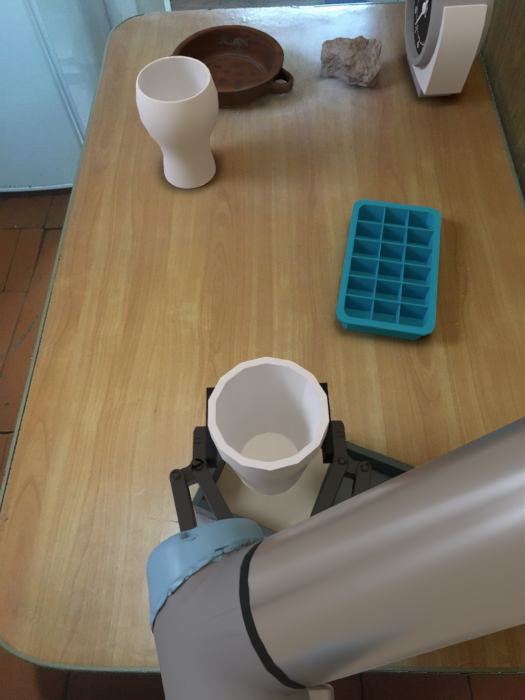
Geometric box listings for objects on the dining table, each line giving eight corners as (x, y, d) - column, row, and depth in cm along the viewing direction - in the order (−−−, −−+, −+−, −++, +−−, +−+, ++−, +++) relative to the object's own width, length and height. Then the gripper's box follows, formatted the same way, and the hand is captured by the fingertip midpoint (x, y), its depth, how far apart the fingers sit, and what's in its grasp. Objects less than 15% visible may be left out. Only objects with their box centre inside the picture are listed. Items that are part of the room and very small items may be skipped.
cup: (147, 193, 81) (121, 102, 68) (163, 143, 86) (142, 50, 73) (218, 199, 80) (206, 108, 67) (230, 148, 85) (222, 55, 72)
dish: (185, 44, 98) (180, 16, 94) (305, 61, 95) (307, 32, 91) (150, 106, 90) (144, 78, 86) (281, 127, 87) (281, 99, 83)
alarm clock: (393, 45, 97) (419, -92, 79) (442, 42, 97) (478, -95, 79) (413, 112, 88) (447, -25, 70) (466, 109, 88) (513, -29, 70)
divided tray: (444, 491, 58) (454, 481, 55) (414, 607, 53) (422, 604, 50) (242, 413, 63) (240, 400, 60) (195, 512, 58) (190, 503, 55)
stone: (379, 92, 90) (385, 58, 85) (319, 92, 91) (320, 58, 86) (378, 62, 94) (383, 28, 89) (320, 62, 95) (321, 28, 90)
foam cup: (202, 472, 54) (182, 421, 42) (259, 402, 57) (255, 337, 46) (281, 532, 51) (282, 495, 39) (336, 454, 54) (352, 399, 43)
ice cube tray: (435, 224, 76) (441, 208, 74) (428, 348, 67) (434, 336, 64) (352, 213, 78) (354, 197, 75) (332, 334, 68) (334, 320, 65)
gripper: (136, 684, 42) (154, 412, 53) (422, 672, 42) (381, 403, 53) (110, 688, 36) (137, 377, 47) (449, 674, 36) (395, 367, 47)
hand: (267, 391), depth 50 cm, fingers closed on foam cup, 9 cm apart
